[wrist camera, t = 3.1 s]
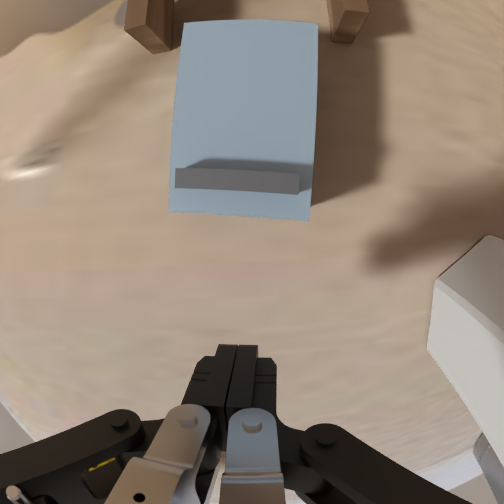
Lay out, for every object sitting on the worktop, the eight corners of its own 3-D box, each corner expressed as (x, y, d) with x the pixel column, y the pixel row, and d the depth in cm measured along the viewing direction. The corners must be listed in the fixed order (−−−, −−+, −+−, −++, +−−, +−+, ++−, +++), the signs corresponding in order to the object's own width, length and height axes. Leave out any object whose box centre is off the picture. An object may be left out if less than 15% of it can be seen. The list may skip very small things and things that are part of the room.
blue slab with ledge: (309, 57, 14) (320, 13, 9) (301, 209, 17) (311, 225, 11) (205, 55, 15) (177, 13, 10) (195, 202, 17) (160, 215, 12)
